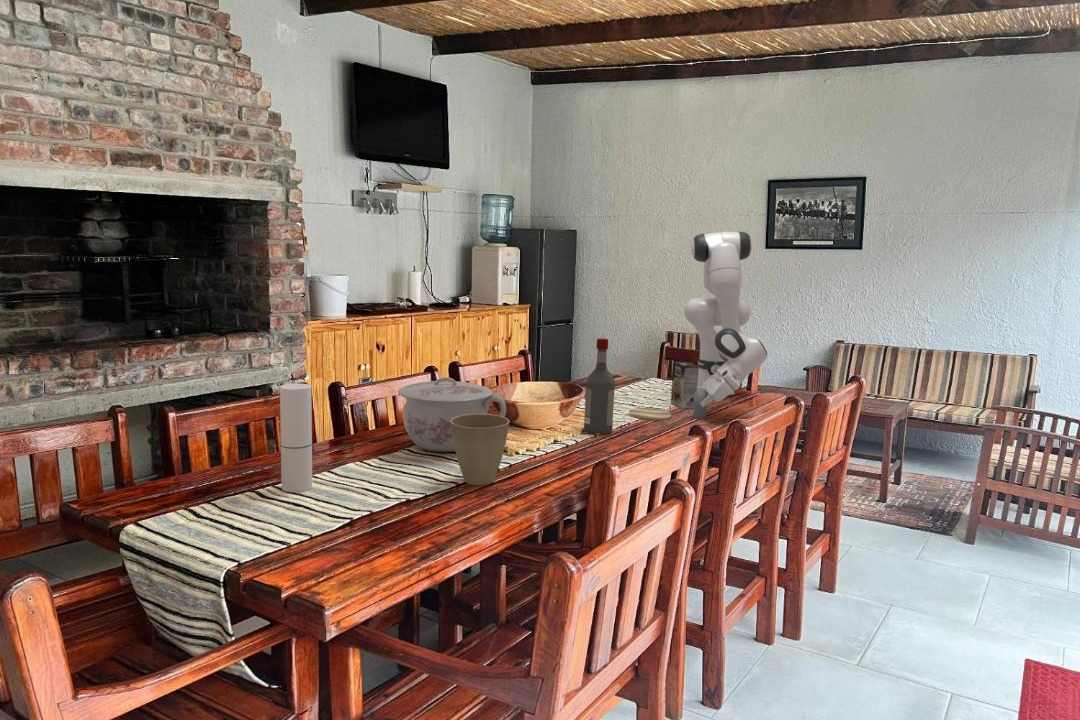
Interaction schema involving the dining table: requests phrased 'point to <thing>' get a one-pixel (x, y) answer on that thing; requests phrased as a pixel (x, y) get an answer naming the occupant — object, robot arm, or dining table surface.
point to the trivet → (650, 414)
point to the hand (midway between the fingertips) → (698, 402)
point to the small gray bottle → (698, 410)
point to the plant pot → (479, 445)
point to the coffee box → (684, 384)
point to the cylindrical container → (296, 437)
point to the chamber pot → (442, 410)
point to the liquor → (599, 395)
